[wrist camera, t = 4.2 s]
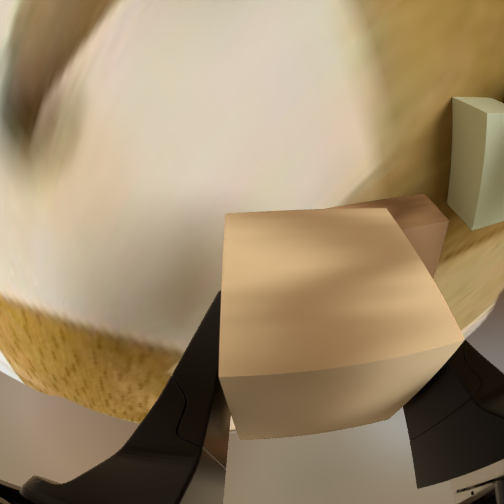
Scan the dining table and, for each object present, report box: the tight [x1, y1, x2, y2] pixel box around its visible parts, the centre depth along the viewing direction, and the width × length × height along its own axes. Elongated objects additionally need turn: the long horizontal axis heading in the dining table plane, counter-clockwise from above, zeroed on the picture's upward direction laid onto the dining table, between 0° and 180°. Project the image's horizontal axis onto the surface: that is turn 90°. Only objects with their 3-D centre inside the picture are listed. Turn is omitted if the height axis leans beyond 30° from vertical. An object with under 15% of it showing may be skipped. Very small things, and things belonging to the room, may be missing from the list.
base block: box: [327, 194, 449, 279], centre depth 21 cm, size 9×9×4 cm
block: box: [447, 97, 504, 231], centre depth 15 cm, size 4×9×4 cm, turn 15°
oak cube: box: [219, 208, 465, 440], centre depth 8 cm, size 5×5×5 cm
